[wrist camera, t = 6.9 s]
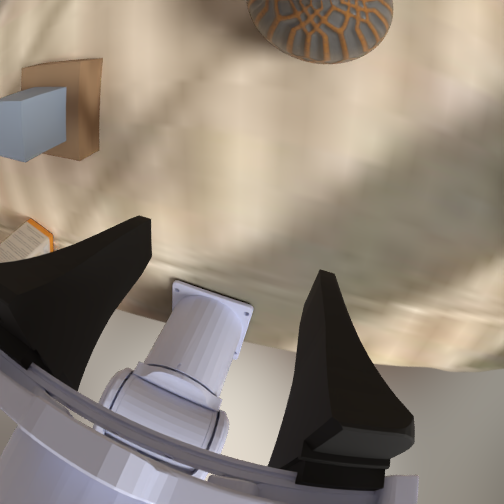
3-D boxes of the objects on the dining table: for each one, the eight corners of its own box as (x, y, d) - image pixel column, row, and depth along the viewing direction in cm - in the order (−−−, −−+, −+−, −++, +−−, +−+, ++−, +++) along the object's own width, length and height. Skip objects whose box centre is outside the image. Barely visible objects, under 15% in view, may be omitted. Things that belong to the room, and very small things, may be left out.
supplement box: (30, 215, 29) (-42, 280, 19) (54, 234, 30) (-19, 307, 19) (33, 259, 34) (-24, 320, 24) (56, 276, 35) (-1, 343, 24)
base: (102, 148, 22) (79, 161, 20) (46, 139, 23) (24, 150, 20) (106, 57, 17) (80, 61, 15) (45, 62, 18) (21, 68, 15)
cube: (66, 140, 19) (25, 162, 15) (34, 135, 19) (-4, 155, 16) (66, 86, 16) (21, 101, 13) (33, 87, 16) (-8, 101, 13)
